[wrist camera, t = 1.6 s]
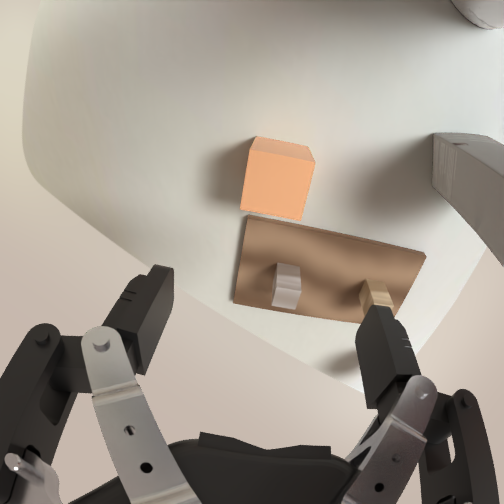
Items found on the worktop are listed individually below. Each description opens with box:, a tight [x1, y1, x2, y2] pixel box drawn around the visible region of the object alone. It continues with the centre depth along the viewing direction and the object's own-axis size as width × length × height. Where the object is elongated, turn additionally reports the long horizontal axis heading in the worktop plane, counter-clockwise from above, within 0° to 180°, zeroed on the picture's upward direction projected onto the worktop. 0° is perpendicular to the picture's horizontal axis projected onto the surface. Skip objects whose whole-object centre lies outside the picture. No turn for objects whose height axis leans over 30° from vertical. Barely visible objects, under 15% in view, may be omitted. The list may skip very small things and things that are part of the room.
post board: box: [233, 215, 426, 324], centre depth 33 cm, size 12×22×6 cm, turn 81°
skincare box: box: [432, 133, 504, 267], centre depth 19 cm, size 8×7×16 cm
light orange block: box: [240, 136, 315, 221], centre depth 26 cm, size 5×5×7 cm
